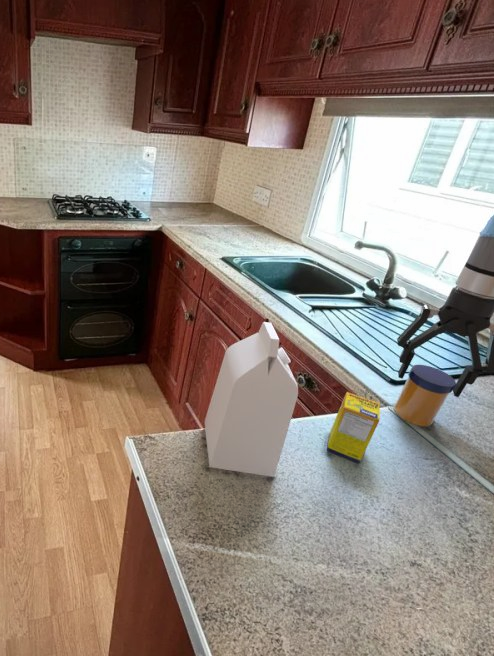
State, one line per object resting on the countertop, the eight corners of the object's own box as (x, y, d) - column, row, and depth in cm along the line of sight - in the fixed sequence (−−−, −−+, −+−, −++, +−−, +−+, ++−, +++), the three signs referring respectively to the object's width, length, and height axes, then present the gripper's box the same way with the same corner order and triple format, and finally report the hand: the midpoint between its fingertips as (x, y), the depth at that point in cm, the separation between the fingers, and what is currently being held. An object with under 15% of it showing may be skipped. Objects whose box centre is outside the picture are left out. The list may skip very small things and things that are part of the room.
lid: (449, 380, 90) (453, 373, 89) (455, 399, 83) (459, 391, 82) (407, 367, 93) (410, 360, 92) (409, 384, 87) (412, 377, 86)
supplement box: (360, 445, 82) (380, 402, 77) (359, 464, 77) (380, 420, 72) (328, 432, 84) (346, 390, 79) (325, 450, 79) (344, 406, 75)
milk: (204, 421, 84) (230, 310, 72) (260, 430, 83) (296, 318, 72) (209, 467, 73) (241, 344, 61) (274, 477, 72) (318, 354, 61)
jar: (430, 412, 94) (450, 375, 89) (433, 431, 88) (455, 392, 83) (392, 399, 97) (410, 363, 92) (393, 417, 91) (412, 379, 86)
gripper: (545, 302, 77) (486, 395, 87) (410, 271, 86) (370, 358, 96) (558, 316, 71) (494, 414, 81) (412, 281, 81) (370, 373, 90)
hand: (427, 384), depth 89 cm, fingers open, 10 cm apart
